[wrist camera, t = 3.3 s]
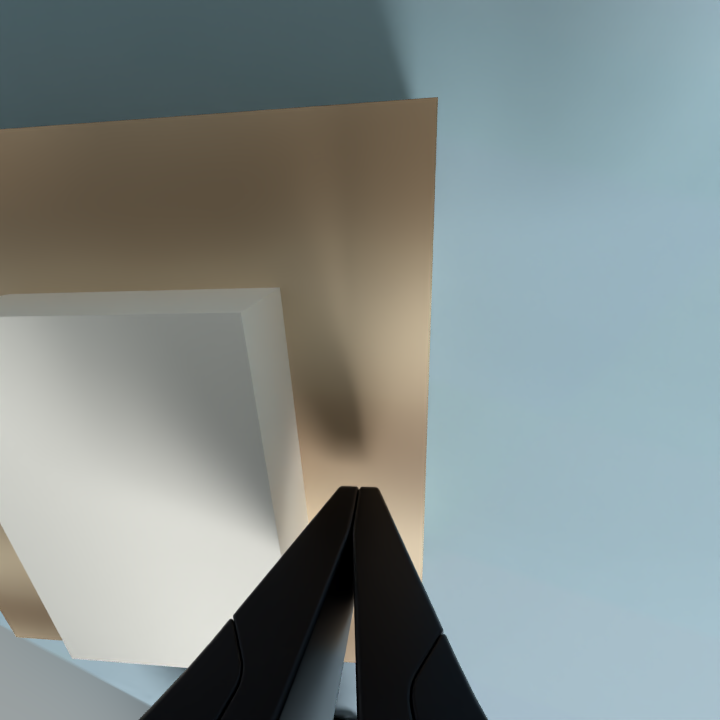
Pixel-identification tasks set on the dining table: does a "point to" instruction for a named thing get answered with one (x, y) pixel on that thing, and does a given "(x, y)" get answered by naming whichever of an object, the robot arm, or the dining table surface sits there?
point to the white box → (147, 461)
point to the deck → (254, 267)
